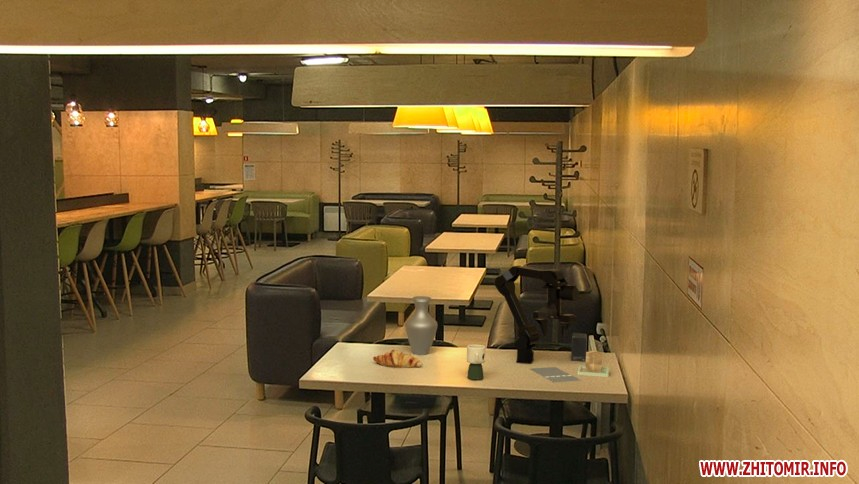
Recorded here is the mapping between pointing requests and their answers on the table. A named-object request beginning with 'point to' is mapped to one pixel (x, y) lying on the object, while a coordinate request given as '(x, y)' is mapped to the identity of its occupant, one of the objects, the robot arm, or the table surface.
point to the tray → (603, 373)
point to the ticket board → (555, 374)
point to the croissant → (398, 360)
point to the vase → (421, 327)
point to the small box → (579, 347)
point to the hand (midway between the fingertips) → (553, 337)
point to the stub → (593, 361)
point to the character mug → (475, 361)
